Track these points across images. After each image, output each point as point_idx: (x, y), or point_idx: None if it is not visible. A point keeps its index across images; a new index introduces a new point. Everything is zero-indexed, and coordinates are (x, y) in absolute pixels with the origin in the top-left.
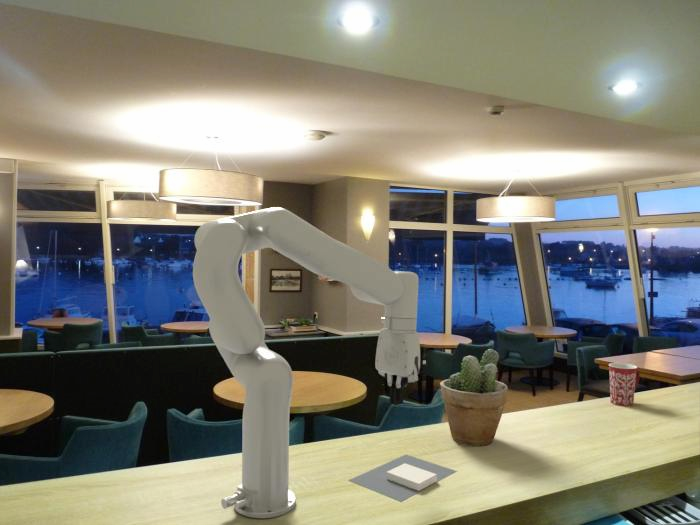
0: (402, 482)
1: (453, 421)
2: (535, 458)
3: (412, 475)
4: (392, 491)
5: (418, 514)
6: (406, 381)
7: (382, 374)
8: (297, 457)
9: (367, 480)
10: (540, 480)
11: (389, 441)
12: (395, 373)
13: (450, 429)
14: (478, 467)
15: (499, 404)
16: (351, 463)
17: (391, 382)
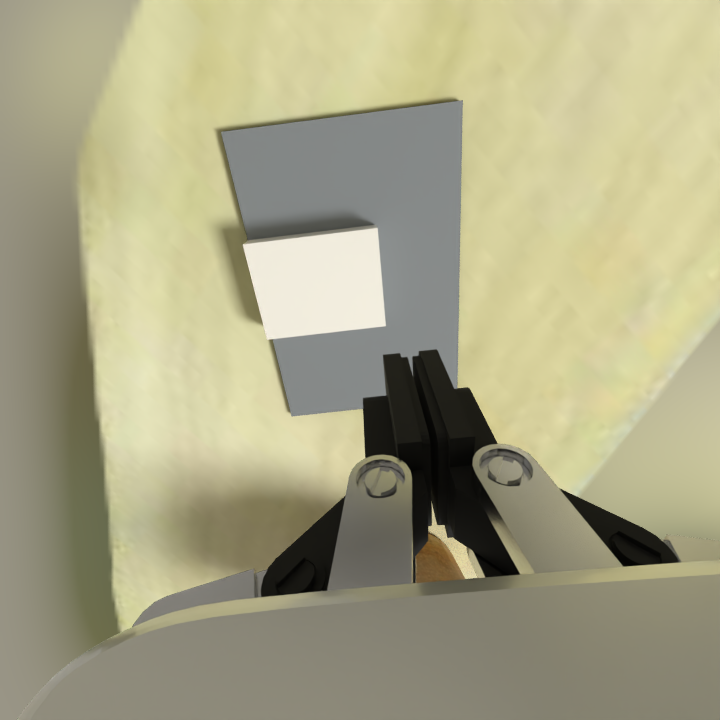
0: (310, 234)
1: (428, 574)
2: (249, 569)
3: (302, 275)
4: (296, 169)
5: (134, 121)
6: (272, 569)
7: (718, 555)
8: None
9: (412, 162)
10: (159, 506)
11: (553, 430)
12: (360, 618)
13: (444, 554)
14: (284, 469)
15: None
16: (551, 232)
17: (485, 484)
